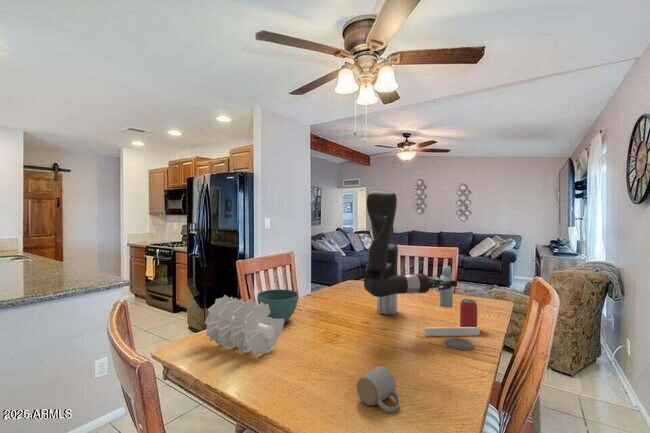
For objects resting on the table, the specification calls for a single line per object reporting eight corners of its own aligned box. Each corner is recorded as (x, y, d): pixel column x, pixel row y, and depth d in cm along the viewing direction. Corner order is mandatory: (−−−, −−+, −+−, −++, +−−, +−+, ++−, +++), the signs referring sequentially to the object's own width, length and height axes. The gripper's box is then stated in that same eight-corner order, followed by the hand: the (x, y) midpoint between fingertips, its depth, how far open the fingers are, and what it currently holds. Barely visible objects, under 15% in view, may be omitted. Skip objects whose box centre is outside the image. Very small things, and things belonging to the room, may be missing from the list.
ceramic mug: (354, 400, 85) (354, 371, 85) (373, 388, 91) (373, 361, 90) (388, 419, 77) (388, 388, 77) (406, 405, 83) (407, 375, 83)
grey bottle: (442, 307, 129) (443, 267, 128) (438, 304, 134) (438, 265, 133) (454, 307, 129) (455, 267, 129) (449, 304, 134) (450, 265, 133)
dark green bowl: (304, 317, 151) (304, 291, 150) (287, 331, 134) (287, 301, 133) (269, 313, 157) (269, 287, 156) (249, 325, 140) (249, 297, 139)
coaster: (451, 350, 115) (451, 349, 115) (440, 339, 125) (440, 338, 125) (479, 350, 115) (479, 349, 115) (466, 339, 125) (466, 337, 125)
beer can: (479, 332, 132) (479, 303, 131) (461, 331, 133) (462, 302, 133) (474, 327, 138) (475, 299, 138) (458, 326, 139) (458, 298, 139)
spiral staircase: (261, 372, 107) (209, 352, 120) (290, 334, 121) (241, 319, 133) (246, 331, 100) (192, 314, 112) (279, 295, 113) (227, 283, 126)
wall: (424, 335, 128) (424, 328, 128) (423, 334, 129) (423, 327, 129) (479, 335, 129) (479, 327, 129) (478, 334, 130) (478, 326, 130)
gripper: (424, 278, 121) (464, 276, 125) (405, 271, 135) (442, 269, 139) (423, 298, 121) (463, 295, 125) (405, 288, 135) (442, 287, 139)
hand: (452, 282), depth 132 cm, fingers closed on grey bottle, 4 cm apart
